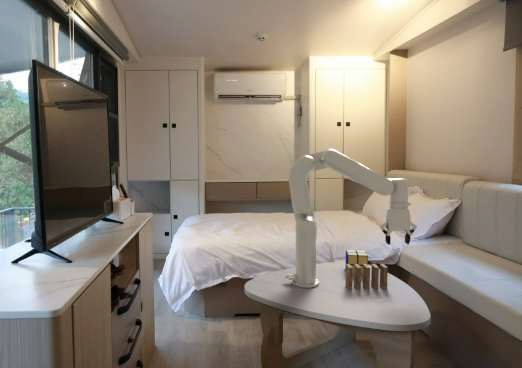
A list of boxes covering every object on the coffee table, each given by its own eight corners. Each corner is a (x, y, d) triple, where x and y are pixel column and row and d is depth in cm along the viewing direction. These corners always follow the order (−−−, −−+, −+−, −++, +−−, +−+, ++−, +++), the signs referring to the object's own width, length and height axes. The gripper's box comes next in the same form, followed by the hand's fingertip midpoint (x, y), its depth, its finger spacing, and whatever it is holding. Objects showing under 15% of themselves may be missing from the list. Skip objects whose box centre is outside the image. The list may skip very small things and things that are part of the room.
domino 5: (383, 289, 157) (384, 267, 156) (379, 284, 162) (380, 263, 161) (387, 289, 157) (387, 267, 156) (382, 284, 162) (383, 263, 161)
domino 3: (366, 289, 157) (366, 267, 156) (362, 285, 162) (363, 264, 161) (369, 289, 157) (370, 267, 156) (365, 285, 162) (366, 264, 161)
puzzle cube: (345, 267, 187) (345, 249, 186) (364, 268, 185) (365, 250, 184) (347, 274, 177) (347, 255, 176) (367, 275, 175) (368, 255, 174)
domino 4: (374, 289, 157) (375, 267, 156) (371, 285, 162) (371, 264, 161) (378, 289, 157) (379, 267, 156) (374, 284, 162) (375, 264, 161)
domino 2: (357, 289, 157) (357, 267, 156) (353, 285, 162) (354, 264, 161) (360, 289, 157) (361, 267, 156) (357, 285, 162) (358, 264, 161)
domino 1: (348, 289, 157) (349, 267, 156) (345, 285, 162) (346, 264, 161) (352, 289, 157) (352, 267, 156) (349, 285, 162) (349, 264, 161)
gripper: (414, 204, 161) (412, 241, 162) (376, 204, 160) (375, 241, 162) (421, 206, 153) (420, 245, 155) (382, 207, 153) (381, 246, 154)
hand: (397, 243), depth 158 cm, fingers open, 8 cm apart
